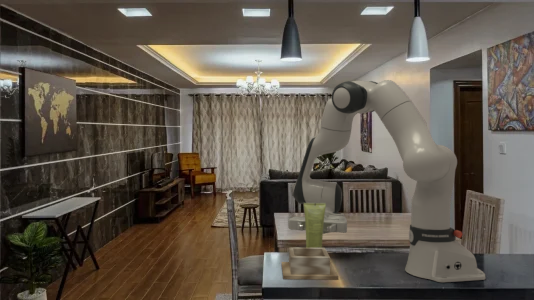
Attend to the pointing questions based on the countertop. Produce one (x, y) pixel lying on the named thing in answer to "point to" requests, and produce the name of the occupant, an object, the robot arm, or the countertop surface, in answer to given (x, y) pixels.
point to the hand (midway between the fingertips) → (314, 228)
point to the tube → (314, 224)
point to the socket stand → (308, 264)
